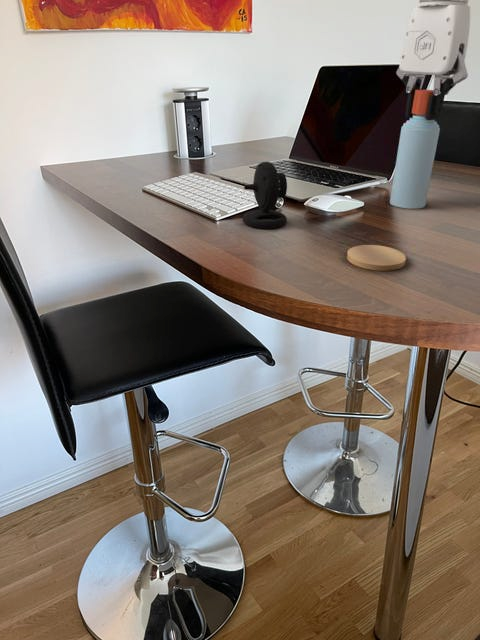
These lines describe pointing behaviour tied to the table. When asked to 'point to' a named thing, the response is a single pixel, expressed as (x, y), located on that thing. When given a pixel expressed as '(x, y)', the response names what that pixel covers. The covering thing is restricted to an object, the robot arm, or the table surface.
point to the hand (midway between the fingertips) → (422, 117)
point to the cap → (421, 101)
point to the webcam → (266, 197)
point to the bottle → (414, 162)
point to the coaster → (376, 257)
